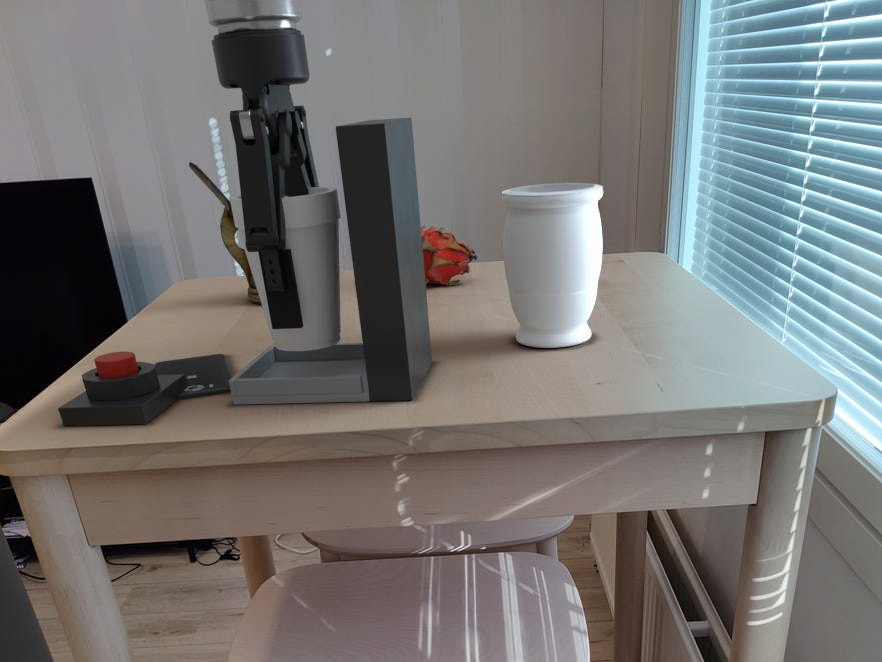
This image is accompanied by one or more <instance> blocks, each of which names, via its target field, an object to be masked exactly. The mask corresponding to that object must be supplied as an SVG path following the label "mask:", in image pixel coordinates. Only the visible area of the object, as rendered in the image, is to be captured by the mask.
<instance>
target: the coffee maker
mask: <svg viewBox="0 0 882 662" xmlns="http://www.w3.org/2000/svg"><path fill="white" fill-rule="evenodd" d="M413 129H414V128H413V120H412V117H398V118H397V117H396V118H382V119H368V120H362V121H357V122H352V123H346V124H341V125H336V126H335V134H336V143H337V150H338V157H339V165H340V174H341V181H342V191H343V198H344V206H345V214H346V222H347V231H348V239H349V245H350V253H351V262H352V269H353V277H354V285H355V293H356V301H357V308H358V317H359V325H360V332H361V341H362V342H346V343H345V342H344V343H342V342H341V343H340V342H338V343H337V344H334V345H332V346H330V347H326V348H321V349H317V350H308V351H284V350H279V349H277V348H276V347H275V345H269V346H268V347H267V348H266V349H264V350H263V351H262V352H260V353H259V355H257V356H256V357H255V358H254V359H253V360H251V361H250V362H249V363H247V365H245V366H244V367H243V368H241V370H239V372H237V373H236V374H235V375H234V376H232V377H231V379H230V380H229V385H230V390H231V392H230V394H231V398H232V402H233V405H235V406H236V405H237V406H238V405H280V404H314V403H315V404H317V403H318V404H319V403H358V402H360V403H361V402H397V401H398V402H399V401H413V399H414V397H415V396H416V394H417V392H418V390H419V388H420V386H421V385H422V383H423V381H424V379H425V377H426V375H427V373H428V371H429V369H430V368H431V366H432V364H433V354H432V344H431V332H430V320H429V307H428V306H429V305H428V297H427V296H428V295H427V284H426V283H425V271H424V259H423V247H422V235H421V227H422V225H421V214H420V213H421V212H420V201H419V191H418V178H417V177H418V176H417V165H416V155H415V154H416V153H415V144H414V143H415V142H414V141H415V140H414V131H413Z"/></svg>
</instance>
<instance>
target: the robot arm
mask: <svg viewBox="0 0 882 662" xmlns="http://www.w3.org/2000/svg"><path fill="white" fill-rule="evenodd" d="M300 1H301V0H204V4H205V9H206V14H207V15H206V16H207V19H208V24H210V26H212V27H213V28H217V33H218V34H214V35H213V36H212V38H213V39H212V40H211V45H212V51H213V57H214V61H215V68H216V72H217V78H218V82H219V84H220V85H221V86H222V88H224V89H227V90H232V89H240V90H241V93H242V94H241V97H242V109H237V110H236V109H235V110H230V111H229V122H230V124H231V130H232V135H233V139H234V144H235V153H236V162H237V171H238V180H239V181H238V182H239V190H240V191H239V192H240V195H241V200H242V210H243V219H244V228H245V240H246V242H245V244H246V249H247V251H248V252H258V253H259V259H260V264H261V270H262V275H263V280H264V286H265V291H266V297H267V302H268V308H269V313H270V319H271V324H272V329H293V328H302V327H303V320H302V314H301V308H300V302H299V296H298V290H297V284H296V277H295V271H294V265H293V259H292V253H291V249H286V230H285V216H284V210H283V203H282V198H284V197H285V195H286V196H288V197H295V196H303V195H308V194H309V192H308V188H311V187H320V184H319V180H318V179H319V178H318V176H317V171H316V170H317V169H316V166H315V165H316V164H315V161H314V155H313V151H312V145H311V141H310V136H309V130H308V122H307V121H308V120H307V111H306V107H305V106H304V105H294V101H293V97H292V93H291V91H290V90H291V89H290V86H292V85H302V84H306V83H307V82H308V81H309V80H310V69H309V68H310V67H309V61H308V54H307V47H306V46H307V45H306V40H305V35H304V34H302V31H301V30H300V29H297V24H296V23H299V22H301V20H302V19H303V14H302V9H301V2H300Z"/></svg>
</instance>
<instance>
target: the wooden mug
mask: <svg viewBox="0 0 882 662" xmlns="http://www.w3.org/2000/svg"><path fill="white" fill-rule="evenodd" d="M188 167H189V168H190V169H191V171H192V172H193V173H194V174H195V175H196V177H198V179H200V181H201V182H202V183H203V184H204V185H205V186H206V187H207V188H208V189H209V190H210V191H211V192H212V194H213V195H214V196H215V197H216V199H218V200H219V202H220V203H221V204H222V206H223V211H222V215H221V217H220V224H219V228H220V237H221V240H222V243H223V245H224V247H225V248H226V250H227V251H228V253H229V254H230V256H231V257H232V258H233V259H234V261H235V262H236V263H237V265H238V266H239V267H240V268H241V270H242V272H244V274H245V278H246V282H247V284H248V287H247V298H248V300H249V301H251V303H253V304H257V305H262V303H261V300H260V297H259V294H258V291H257V288H256V284H255V281H254V278H253V275H252V272H251V268H250V265H249V262H248V259H247V256H246V252H245V249H244V248H241V247H240V246H239V244H238V243H237V242H236V241H237V240H236V234H237V231H239V230H238V228H236V227H235V223H234V218H233V213H232V208H231V202H230V199H229V198H228V197H227V196H226V195H225V194H224V193H223V192H222V191H221V189H220V188H219V187H217V185H216V183H214V181H212V179H210V177H209V176H208V175H207V174H206V173H205V171H203V170H202V169H201V168H200V166H199V165H197V164H195V163H194V162H191V161H189V163H188Z"/></svg>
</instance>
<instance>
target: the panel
mask: <svg viewBox="0 0 882 662" xmlns="http://www.w3.org/2000/svg"><path fill="white" fill-rule="evenodd" d="M137 365H138V369H139V371H138V372H137V373H133V374H130V375H126V376H120V377H113V378H101V377H99V375H98V372H97V368H96V367H95V368H91V369H88V371H86V372H84V373H83V374H81V379H82V384H83V386H84V390H85V391H83V392H81V393H80V394H77V396H75V397H73V398H72V399H70V400H68V401H67V402H66V403H64V404H62V405H60V406H59V407H57V410H58V413H59V416H60V420H61V422H62V425H63V427H79V426H80V427H83V426H87V427H88V426H123V425H124V426H125V425H126V426H128V425H133V426H134V425H147V424H148V423H149V422H151V421H152V420H153V419H155V418H156V417H157V416H159V415H160V414H161V413H162V412H164V411H165V410H166V409H167V408H169V407H170V406H171V405H173V404H174V403H175V402H177V401H179V400H178V395H179V394H180V393H182V392H183V391H184V390H185V389H186V388H187V384H186V380H185V376H184V374H181V375H157V373H156V369H155V364H154V363H151V362H145V361H137Z"/></svg>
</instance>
